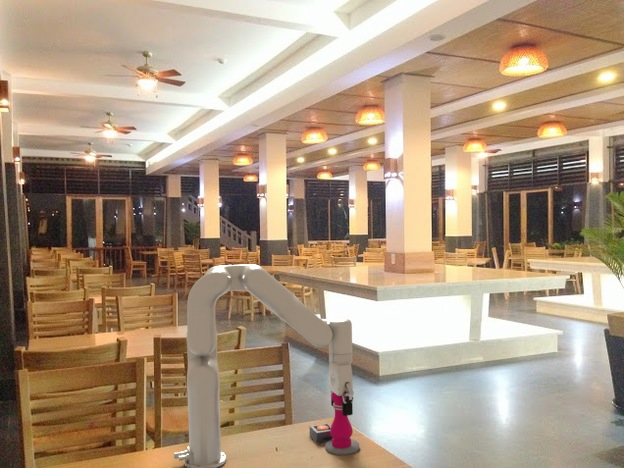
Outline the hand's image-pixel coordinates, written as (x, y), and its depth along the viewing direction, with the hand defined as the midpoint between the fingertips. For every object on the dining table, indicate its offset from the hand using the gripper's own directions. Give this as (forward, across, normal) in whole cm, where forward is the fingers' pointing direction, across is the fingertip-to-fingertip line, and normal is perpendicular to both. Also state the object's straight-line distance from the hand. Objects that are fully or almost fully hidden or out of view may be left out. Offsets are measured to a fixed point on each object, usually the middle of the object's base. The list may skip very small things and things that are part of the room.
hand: (341, 410), depth 182 cm
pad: (+12, 0, 0) cm, 12 cm away
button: (+11, -10, -3) cm, 15 cm away
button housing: (+12, -10, -3) cm, 16 cm away
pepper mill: (+11, 0, 0) cm, 11 cm away
